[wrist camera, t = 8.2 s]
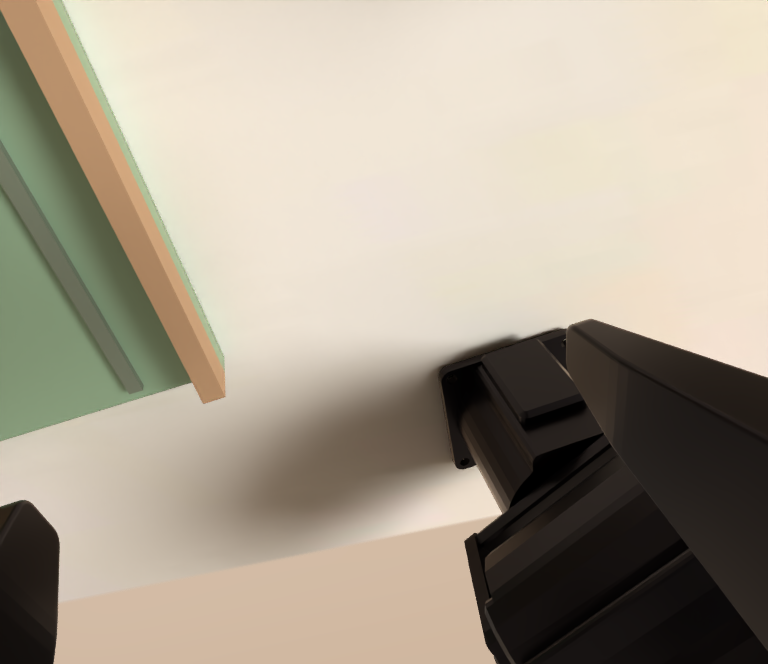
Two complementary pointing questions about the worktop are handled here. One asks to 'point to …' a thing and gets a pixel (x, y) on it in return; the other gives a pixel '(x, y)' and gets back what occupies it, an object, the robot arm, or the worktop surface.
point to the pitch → (81, 245)
